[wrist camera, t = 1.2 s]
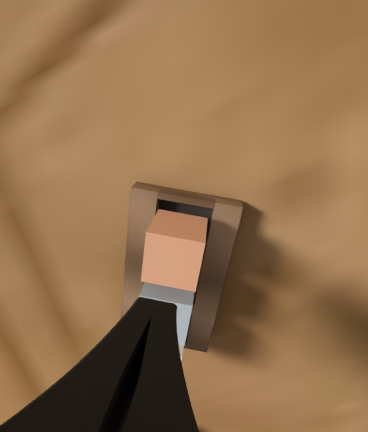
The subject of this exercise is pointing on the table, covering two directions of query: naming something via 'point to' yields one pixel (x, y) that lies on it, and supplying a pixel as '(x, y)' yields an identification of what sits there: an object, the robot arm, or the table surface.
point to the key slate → (177, 297)
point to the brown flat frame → (212, 257)
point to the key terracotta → (174, 250)
